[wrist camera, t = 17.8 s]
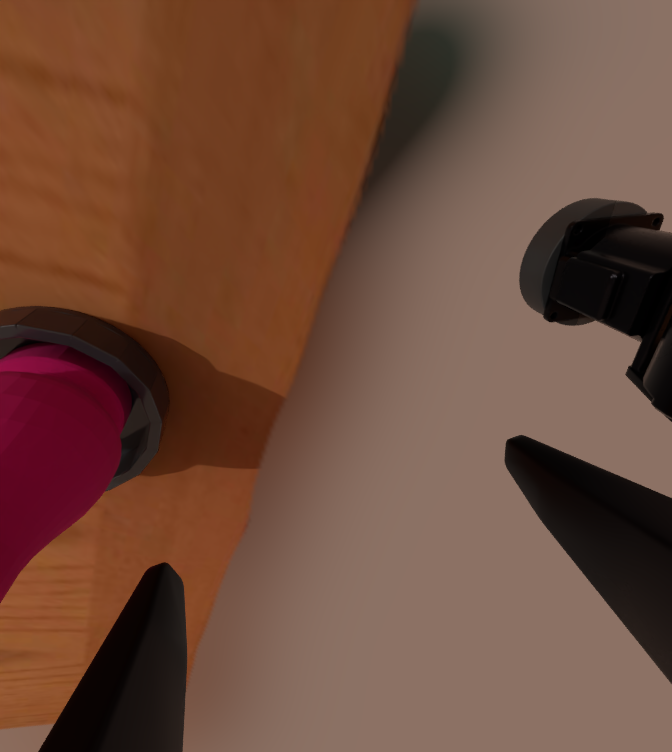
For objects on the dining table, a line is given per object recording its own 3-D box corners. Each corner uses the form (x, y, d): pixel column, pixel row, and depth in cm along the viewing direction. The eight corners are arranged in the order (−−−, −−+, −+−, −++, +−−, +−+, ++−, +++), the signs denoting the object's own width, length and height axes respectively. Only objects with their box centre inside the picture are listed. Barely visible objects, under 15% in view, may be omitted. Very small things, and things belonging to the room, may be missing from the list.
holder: (134, 293, 18) (119, 312, 16) (189, 448, 23) (183, 477, 21) (-105, 320, 16) (-157, 344, 14) (12, 478, 22) (-13, 513, 20)
